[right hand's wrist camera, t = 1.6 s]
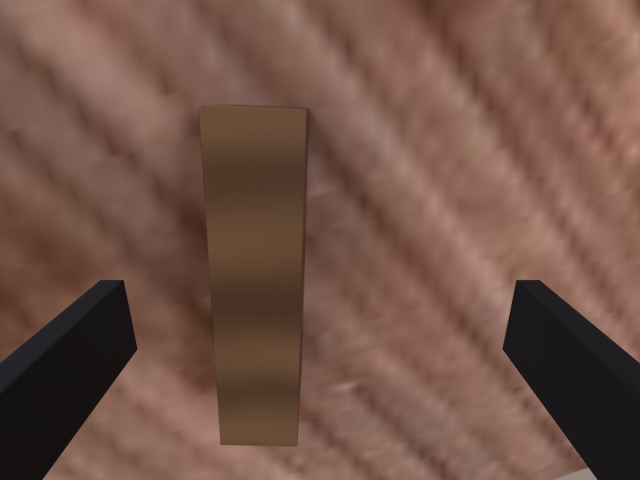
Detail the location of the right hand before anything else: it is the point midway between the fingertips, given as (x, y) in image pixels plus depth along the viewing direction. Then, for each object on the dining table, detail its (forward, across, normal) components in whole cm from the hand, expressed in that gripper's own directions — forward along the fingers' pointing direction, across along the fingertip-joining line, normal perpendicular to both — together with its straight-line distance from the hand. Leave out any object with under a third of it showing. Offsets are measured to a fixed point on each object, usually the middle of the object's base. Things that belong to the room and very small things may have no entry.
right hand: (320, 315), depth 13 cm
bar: (+18, -4, -5) cm, 19 cm away
